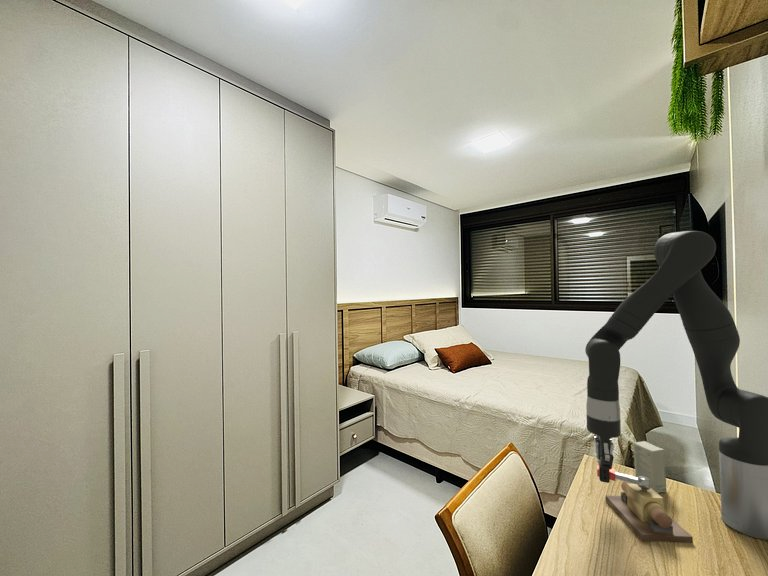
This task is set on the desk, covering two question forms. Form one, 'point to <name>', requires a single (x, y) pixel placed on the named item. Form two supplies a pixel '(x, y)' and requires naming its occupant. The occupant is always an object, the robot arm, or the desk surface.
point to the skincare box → (650, 464)
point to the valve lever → (629, 478)
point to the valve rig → (647, 515)
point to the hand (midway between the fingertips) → (604, 480)
